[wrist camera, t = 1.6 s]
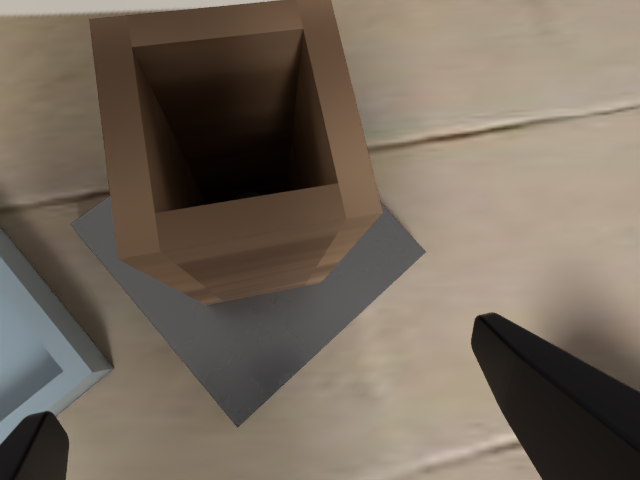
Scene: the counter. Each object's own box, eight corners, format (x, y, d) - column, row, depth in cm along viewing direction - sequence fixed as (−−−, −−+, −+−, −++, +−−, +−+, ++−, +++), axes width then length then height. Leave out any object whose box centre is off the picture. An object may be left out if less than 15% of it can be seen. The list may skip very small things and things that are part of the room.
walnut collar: (320, 282, 21) (383, 212, 9) (206, 305, 20) (117, 259, 8) (298, 177, 22) (330, -5, 10) (189, 194, 21) (89, 19, 10)
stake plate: (239, 422, 20) (228, 449, 15) (80, 230, 21) (22, 197, 16) (418, 256, 23) (459, 233, 18) (269, 93, 24) (268, 29, 19)
